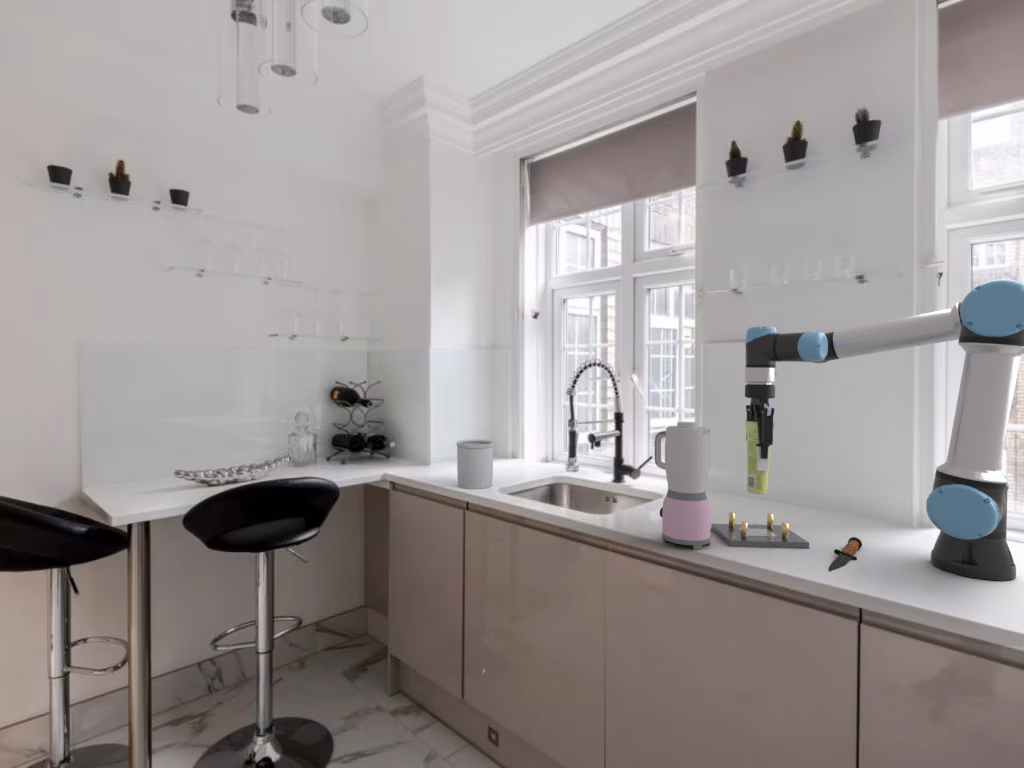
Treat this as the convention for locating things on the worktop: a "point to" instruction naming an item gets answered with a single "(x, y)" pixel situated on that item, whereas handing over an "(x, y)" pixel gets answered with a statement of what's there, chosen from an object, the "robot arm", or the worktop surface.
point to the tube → (755, 461)
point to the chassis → (758, 534)
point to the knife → (846, 553)
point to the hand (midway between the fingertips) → (758, 468)
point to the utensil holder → (475, 463)
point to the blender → (685, 484)
